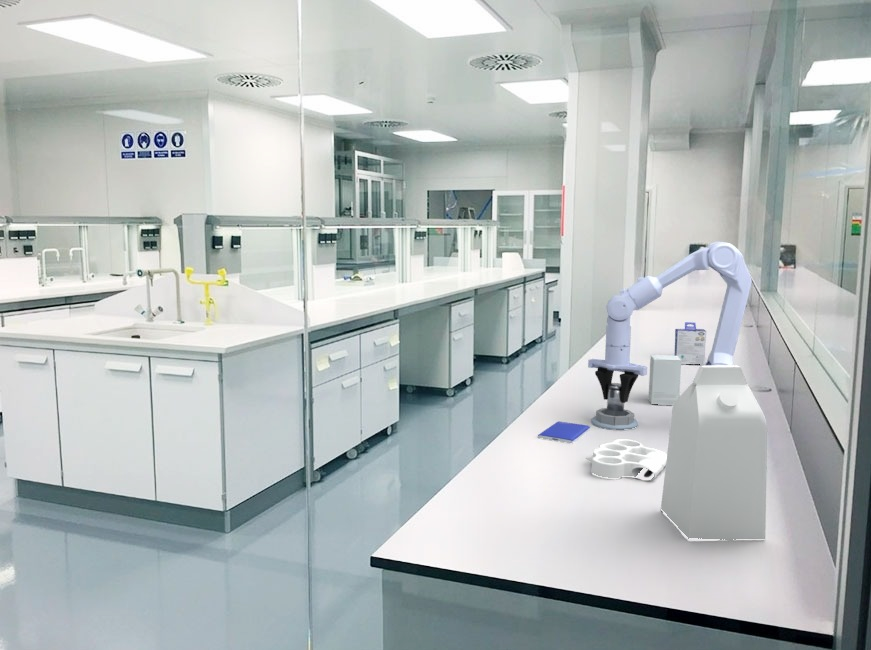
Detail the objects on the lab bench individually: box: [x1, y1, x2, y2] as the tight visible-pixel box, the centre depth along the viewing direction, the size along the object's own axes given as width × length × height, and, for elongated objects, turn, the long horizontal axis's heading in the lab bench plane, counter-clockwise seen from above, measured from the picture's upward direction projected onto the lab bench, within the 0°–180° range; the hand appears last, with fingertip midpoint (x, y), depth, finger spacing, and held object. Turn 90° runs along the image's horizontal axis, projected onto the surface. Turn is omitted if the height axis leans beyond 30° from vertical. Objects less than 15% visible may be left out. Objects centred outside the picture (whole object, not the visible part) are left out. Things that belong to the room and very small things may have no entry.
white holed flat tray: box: [585, 438, 667, 481], centre depth 139 cm, size 3×18×15 cm
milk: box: [660, 364, 768, 540], centre depth 110 cm, size 12×12×26 cm
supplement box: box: [647, 354, 682, 407], centre depth 190 cm, size 7×7×13 cm
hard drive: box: [537, 420, 591, 444], centre depth 161 cm, size 2×8×12 cm
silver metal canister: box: [606, 382, 625, 411], centre depth 169 cm, size 4×5×6 cm
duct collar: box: [591, 407, 639, 431], centre depth 170 cm, size 11×11×3 cm
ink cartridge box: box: [673, 321, 707, 366], centre depth 245 cm, size 10×6×14 cm, turn 81°
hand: (615, 400), depth 169 cm, fingers closed on silver metal canister, 4 cm apart
